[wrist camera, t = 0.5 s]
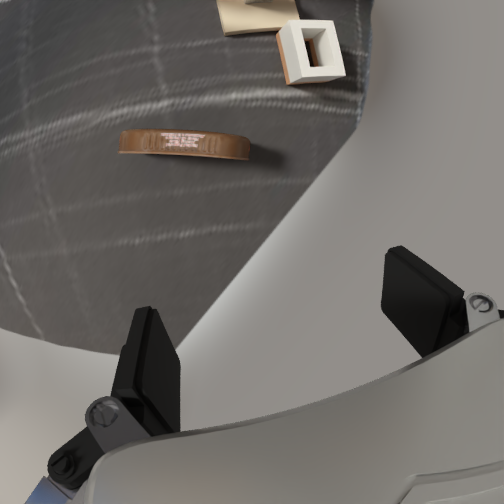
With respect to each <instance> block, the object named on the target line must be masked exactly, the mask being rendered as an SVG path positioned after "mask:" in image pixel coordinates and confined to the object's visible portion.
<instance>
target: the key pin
mask: <svg viewBox="0 0 504 504" xmlns="http://www.w3.org/2000/svg"><path fill="white" fill-rule="evenodd" d="M272 1H273V0H244V4H251V3H268V2H272Z"/></svg>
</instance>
